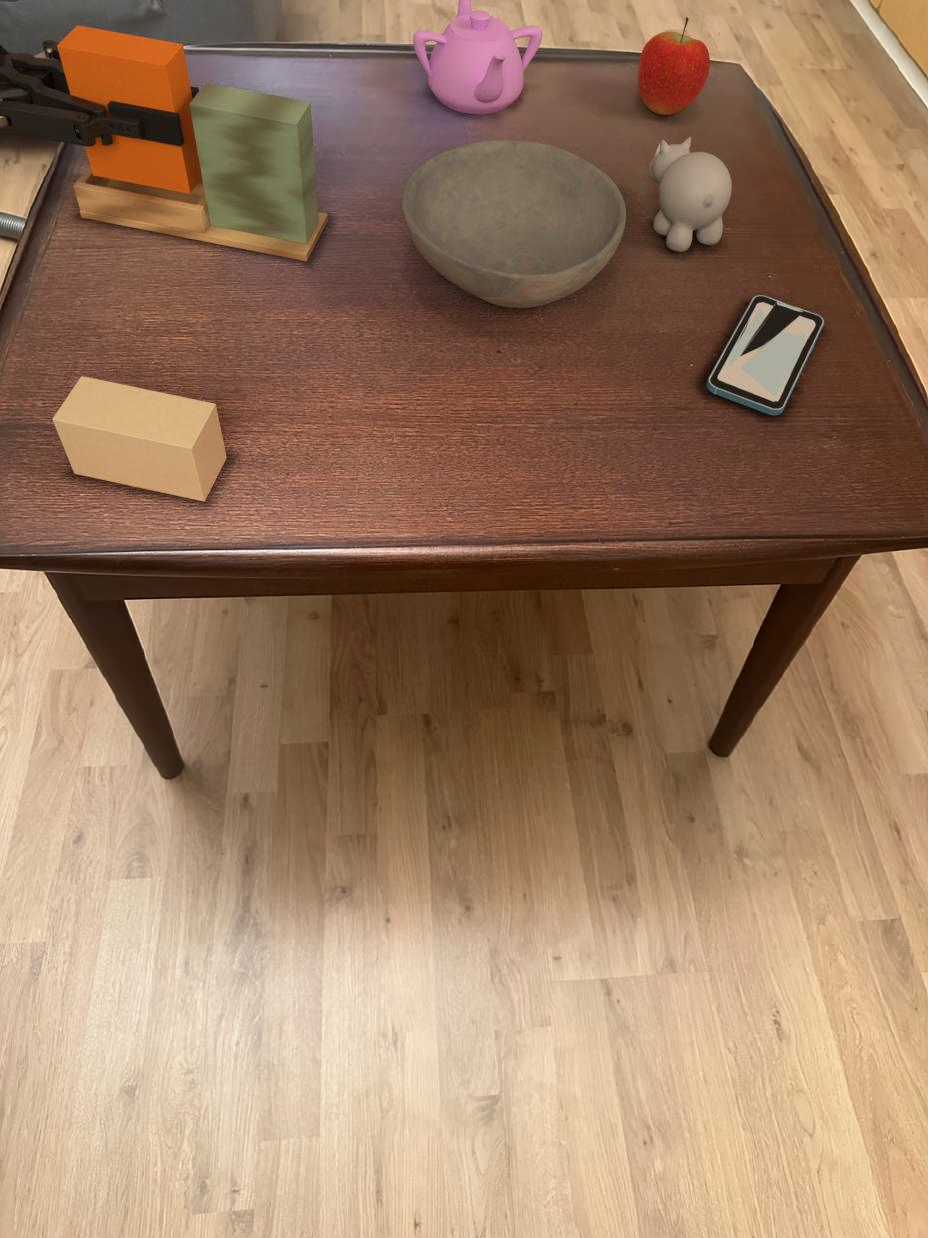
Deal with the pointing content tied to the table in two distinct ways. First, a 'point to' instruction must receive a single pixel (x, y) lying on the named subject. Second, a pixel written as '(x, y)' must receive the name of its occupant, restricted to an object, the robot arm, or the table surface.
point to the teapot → (476, 61)
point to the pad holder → (230, 179)
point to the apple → (672, 71)
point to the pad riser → (141, 438)
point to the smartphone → (765, 355)
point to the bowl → (514, 220)
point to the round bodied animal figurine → (689, 194)
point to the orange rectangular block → (134, 103)
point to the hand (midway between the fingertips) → (189, 116)
